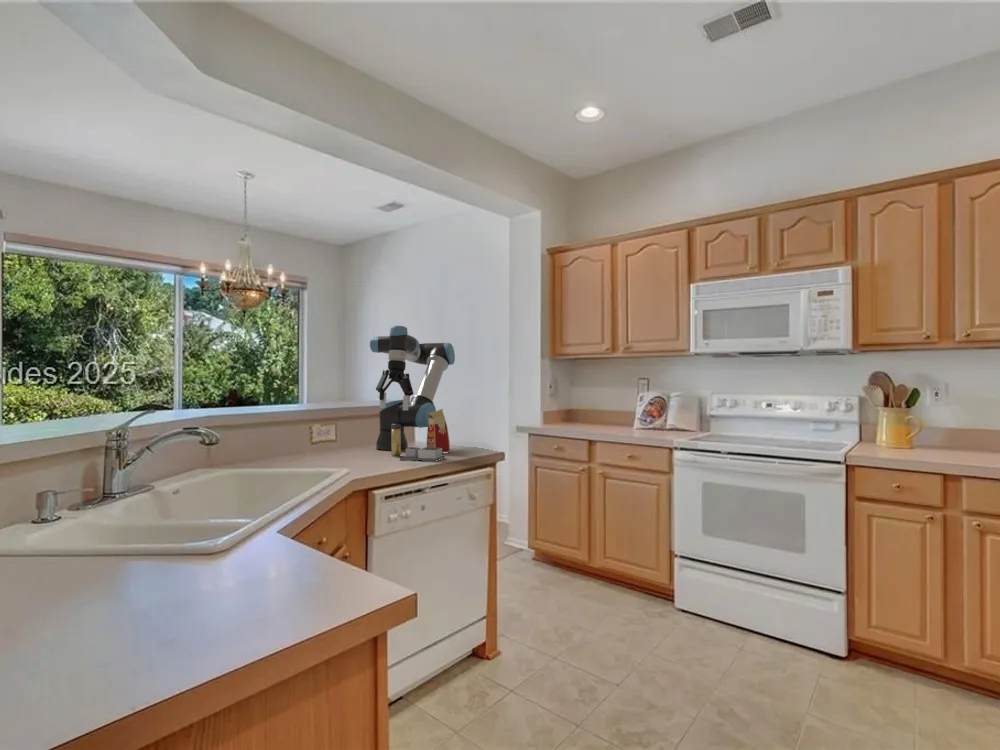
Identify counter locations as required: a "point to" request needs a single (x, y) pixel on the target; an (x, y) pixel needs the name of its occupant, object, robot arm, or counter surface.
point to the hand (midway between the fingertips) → (394, 409)
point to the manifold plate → (423, 454)
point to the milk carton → (438, 431)
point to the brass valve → (396, 439)
